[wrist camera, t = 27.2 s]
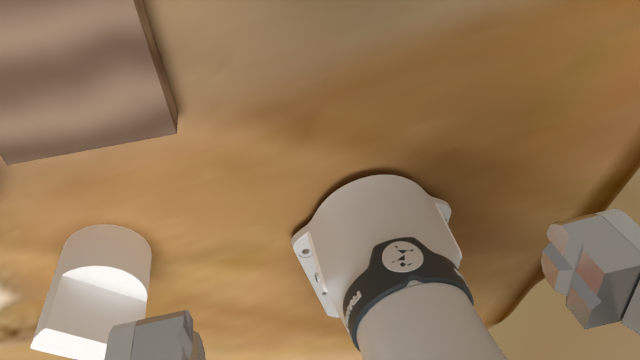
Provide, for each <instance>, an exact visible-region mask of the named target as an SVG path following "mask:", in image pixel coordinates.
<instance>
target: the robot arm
mask: <svg viewBox="0 0 640 360" xmlns="http://www.w3.org/2000/svg"><path fill="white" fill-rule="evenodd" d="M450 216H451V209H450V207H449V205H448V203H447V202H445V201H444V200H441V199H438V198H435V197H431V196H430V195H428V194H427V193H426V192H425V191H424V190H423V189H422V188H421V187H420V186H419V185H418V184H416V183H415V182H413V181H412V180H409V179H407V178H404V177H401V176H396V175H373V176H368V177H364V178H361V179H358V180H355V181H352V182H350V183H348V184H346V185H344V186H342V187H341V188H339V189H338V190H336V191H335V192H334V193H332V194H331V195H330V196H329V197H328V198H327V199H326V200H325V201H324V202H323V203H322V204H321V205H320V207H319V208H318V210H317V211H316V213H315V215H314V216H313V218H312V219H311V221H310V222H309V223H308V224H307V225H306V226H305V227H303V228H302V229H301V230H299V231H298V232H297V233H296V234H295V235H294V236H293V237H292V239H291V245H292V247H293V250H294V252H295V254H296V256H297V258H298V260H299V262H300V264H301V265H302V267H303V269H304V271H305V273H306V275H307V277H308V279H309V281H310V283H311V285H312V287H313V289H314V291H315V293H316V295H317V296H318V298H319V300H320V302H321V304H322V306H323V308H324V310H325V312H326V314H327V315H328V316H331V317H337V318H341V320H342V322H343V324H344V326H345V328H346V330H347V332H348V333H349V335H350V338H351V339H352V341H353V343H354V345H355V347H356V348H357V349H358V350H359V351H360V352H361V355H362V358H363V360H508V359H507V358H506V356H505V355H504V353H503V352H502V350H501V349H500V348H499V346H498V345H497V343H496V342H495V340H494V339H493V337H492V336H491V334H490V333H489V331H488V330H487V328H486V327H485V325H484V323H483V322H482V320H481V318H480V317H479V315H478V314H477V312H476V310H475V309H474V307H473V305H474V303H473V297H472V295H471V293H470V291H469V287H468V284H467V282H466V281H465V279H464V277H463V275H462V274H461V273H460V272H459V271H458V268H459V265H460V260H461V259H462V253H461V250H460V248H459V246H458V244H457V242H456V240H455V238H454V236H453V235H452V233H451V231H450V229H449V227H448V222H449V219H450ZM546 237H547V238H548V239H549V240H550V243H549V244H548V245H547V246H546V247H545V248H544V249H543V251H542V257H541V264H542V269H543V273H544V275H545V277H546V279H547V281H548V282H549V284H550V285H551V286H552V288H553V289H554V290H556V291H557V292H559V293H562V294H563V295H566V306H567V307H568V308H569V310H570V311H571V313H572V314H573V315H574V316H575V318H576V319H577V320H578V321H579V323H580V324H581V325H582V327H583V328H584V329H588V328H593V327H597V326H601V325H606V324H610V323H614V322H619V321H621V323H622V324H623V325H625V326H627V327H628V328H630V329H631V330H633V331H635V332H637V333H638V334H640V226H639V225H638V224H637V223H636V222H635V221H634V220H632V219H631V218H630V217H629V216H628V215H627V214H626V213H625V212H623V211H622V210H619V209H617V208H615V209H611V210H607V211H603V212H598V213H595V214H589V215H585V216H580V217H576V218H572V219H568V220H564V221H560V222H556V223H552V225H551V226H550V227H549V228H548V231H547V235H546ZM304 249H306V250H304ZM104 360H206V359H205V352H204V347H203V343H202V340H201V338H200V335H199V333H198V332H196V331H194V330H193V319H192V317H191V315H190V313H189V311H188V310H184V311H179V312H175V313H170V314H165V315H160V316H155V317H151V318H146V319H141V320H137V321H133V322H128V323H124V324H119V325H114V326H113V327H112V329H111V331H110V333H109V336H108V342H107V347H106V353H105V358H104Z"/></svg>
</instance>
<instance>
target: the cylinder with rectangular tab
mask: <svg viewBox="0 0 640 360" xmlns="http://www.w3.org/2000/svg"><path fill="white" fill-rule="evenodd" d="M151 260H152V252H151V248H150V246H149V244H148V243H147V241H146V240H145V239H144V238H143V237H142V236H141V235H140V234H138V233H137V232H135V231H133V230H131V229H129V228H126V227H123V226H119V225H112V224H98V225H91V226H88V227H84V228H81V229H80V230H78V231H76V232H74V233H73V234H72V235H71V236H70V237H69V238H68V239H67V240H66V241H65V244H64V246H63V248H62V251H61V254H60V257H59V260H58V263H57V267H56V270H55V273H54V276H53V279H52V282H51V285H50V288H49V291H48V294H47V297H46V300H45V303H44V307H43V310H42V313H41V316H40V319H39V322H38V325H37V328H36V331H35V334H34V337H33V340H32V343H31V349H34V350H38V351H42V352H47V353H51V354H55V355H59V356H64V357H68V358H72V359H76V360H104V358H105V353H106V347H107V342H108V336H109V333H110V331H111V329H112V327H113V326H114V325H119V324H124V323H128V322H133V321H137V320H141V319H145V313H146V304H147V297H148V288H149V279H150V270H151Z"/></svg>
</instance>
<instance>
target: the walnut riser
mask: <svg viewBox="0 0 640 360" xmlns="http://www.w3.org/2000/svg"><path fill="white" fill-rule="evenodd" d="M177 122H178V112H177V109H176V106H175V103H174V100H173V96H172V93H171V90H170V87H169V84H168V81H167V77H166V74H165V71H164V68H163V65H162V61H161V58H160V55H159V52H158V49H157V46H156V42H155V39H154V36H153V33H152V30H151V26H150V23H149V20H148V17H147V14H146V11H145V7H144V4H143V1H142V0H0V154H1V156H2V158H3V159H4V161H5V163H6V164H7V165H11V164H16V163H21V162H27V161H32V160H38V159H43V158H48V157H54V156H59V155H64V154H70V153H75V152H81V151H86V150H91V149H97V148H102V147H108V146H113V145H118V144H124V143H129V142H135V141H140V140H145V139H151V138H156V137H161V136H167V135H172V134H177Z"/></svg>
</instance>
